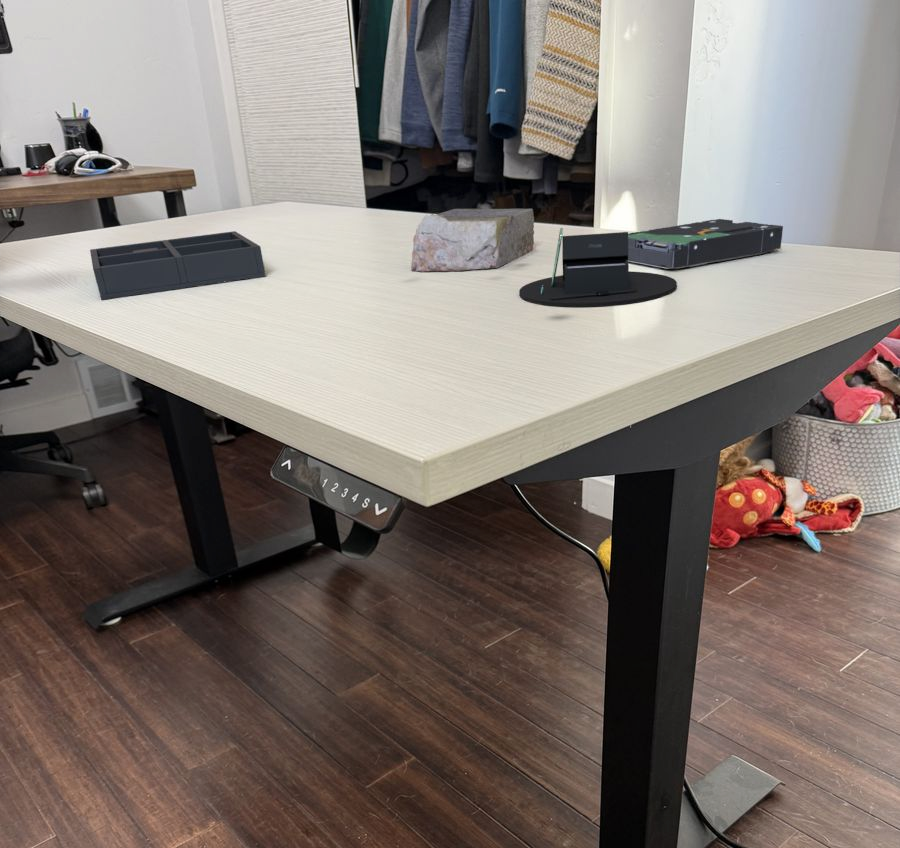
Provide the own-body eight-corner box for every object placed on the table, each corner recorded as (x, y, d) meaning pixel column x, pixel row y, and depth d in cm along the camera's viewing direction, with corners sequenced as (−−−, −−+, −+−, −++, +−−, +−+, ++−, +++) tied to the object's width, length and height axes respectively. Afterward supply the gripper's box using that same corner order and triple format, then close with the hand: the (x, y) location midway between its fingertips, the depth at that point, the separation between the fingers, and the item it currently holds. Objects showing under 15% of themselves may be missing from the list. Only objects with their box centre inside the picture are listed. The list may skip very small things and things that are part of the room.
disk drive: (716, 244, 101) (612, 260, 96) (718, 218, 100) (613, 233, 95) (782, 252, 93) (673, 271, 88) (785, 224, 92) (675, 242, 86)
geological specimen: (536, 205, 106) (493, 216, 94) (535, 258, 108) (493, 275, 96) (456, 206, 109) (405, 216, 97) (457, 257, 112) (407, 273, 100)
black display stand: (668, 271, 89) (671, 213, 86) (684, 301, 76) (688, 235, 73) (523, 279, 91) (521, 223, 88) (514, 310, 78) (512, 246, 75)
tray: (101, 300, 100) (92, 268, 98) (97, 277, 116) (89, 249, 114) (265, 276, 106) (260, 246, 104) (240, 257, 121) (235, 231, 120)
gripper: (-77, -108, 99) (-27, 57, 107) (-97, -140, 88) (-39, 48, 96) (-7, -109, 101) (37, 53, 109) (-17, -140, 90) (33, 44, 98)
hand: (2, 51), depth 103 cm, fingers open, 8 cm apart
